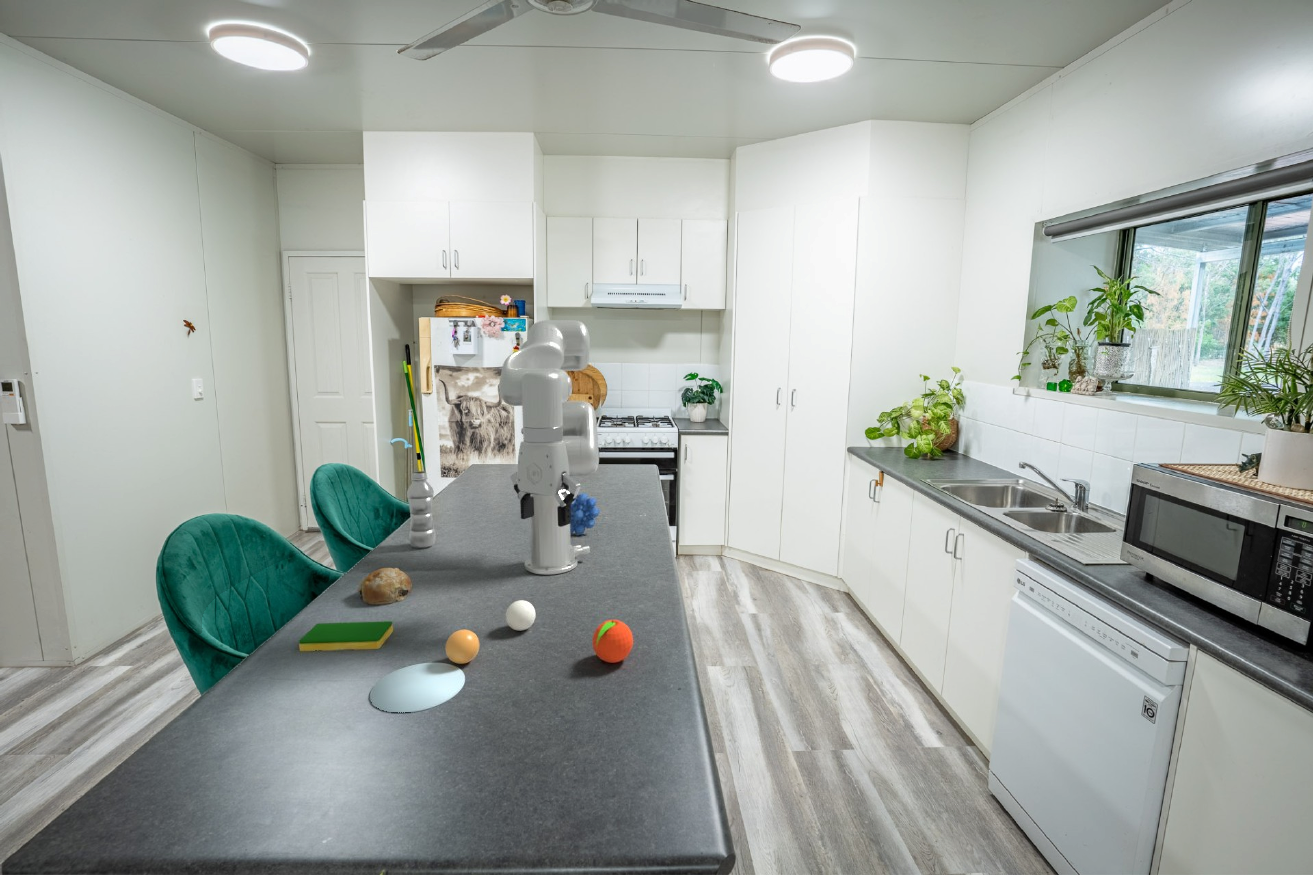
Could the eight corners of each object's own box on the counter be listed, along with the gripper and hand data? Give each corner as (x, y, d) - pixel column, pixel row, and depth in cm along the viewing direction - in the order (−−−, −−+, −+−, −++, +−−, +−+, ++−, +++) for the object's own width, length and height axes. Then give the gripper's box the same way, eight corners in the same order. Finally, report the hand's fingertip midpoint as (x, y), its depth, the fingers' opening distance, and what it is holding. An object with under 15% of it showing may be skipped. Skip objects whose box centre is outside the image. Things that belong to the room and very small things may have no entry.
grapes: (598, 529, 178) (597, 488, 177) (600, 536, 172) (599, 494, 170) (557, 531, 177) (556, 490, 175) (558, 538, 170) (556, 496, 168)
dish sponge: (318, 634, 116) (317, 622, 116) (393, 632, 117) (393, 620, 116) (299, 653, 109) (297, 640, 109) (379, 651, 110) (378, 638, 109)
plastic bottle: (413, 542, 167) (409, 470, 164) (439, 542, 167) (435, 469, 164) (406, 550, 160) (401, 475, 157) (433, 550, 161) (428, 474, 158)
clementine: (614, 677, 100) (613, 636, 99) (580, 666, 104) (579, 626, 103) (641, 656, 107) (640, 617, 106) (608, 646, 110) (608, 608, 109)
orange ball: (476, 650, 109) (474, 621, 108) (483, 664, 104) (482, 634, 103) (443, 658, 106) (441, 628, 105) (449, 673, 102) (447, 641, 101)
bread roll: (385, 624, 127) (397, 592, 126) (343, 600, 129) (355, 568, 127) (413, 604, 137) (425, 574, 135) (374, 582, 138) (385, 552, 136)
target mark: (455, 656, 107) (455, 655, 107) (473, 696, 95) (473, 695, 95) (366, 677, 100) (366, 675, 100) (373, 723, 88) (373, 722, 88)
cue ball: (531, 620, 121) (530, 593, 120) (539, 631, 116) (539, 603, 115) (502, 626, 118) (501, 599, 117) (510, 638, 113) (509, 610, 112)
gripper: (496, 434, 121) (500, 519, 123) (564, 441, 112) (566, 533, 114) (524, 429, 127) (527, 510, 130) (590, 436, 118) (592, 523, 121)
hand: (545, 521), depth 122 cm, fingers open, 9 cm apart
